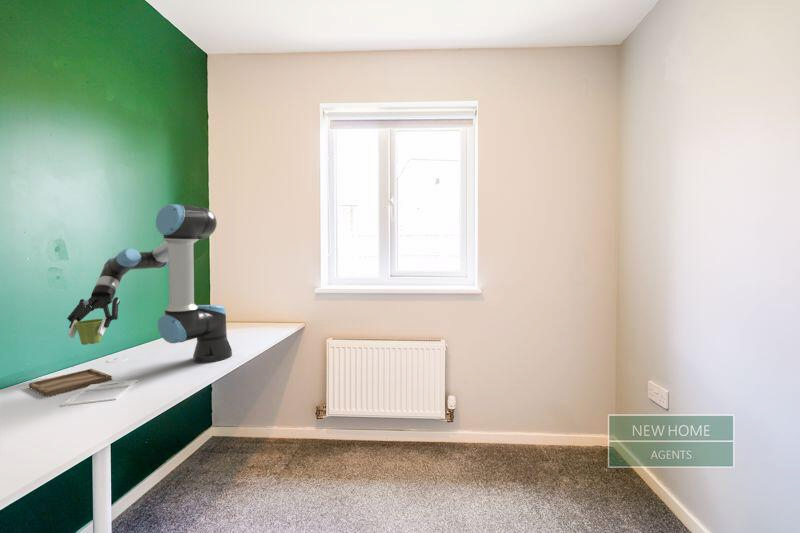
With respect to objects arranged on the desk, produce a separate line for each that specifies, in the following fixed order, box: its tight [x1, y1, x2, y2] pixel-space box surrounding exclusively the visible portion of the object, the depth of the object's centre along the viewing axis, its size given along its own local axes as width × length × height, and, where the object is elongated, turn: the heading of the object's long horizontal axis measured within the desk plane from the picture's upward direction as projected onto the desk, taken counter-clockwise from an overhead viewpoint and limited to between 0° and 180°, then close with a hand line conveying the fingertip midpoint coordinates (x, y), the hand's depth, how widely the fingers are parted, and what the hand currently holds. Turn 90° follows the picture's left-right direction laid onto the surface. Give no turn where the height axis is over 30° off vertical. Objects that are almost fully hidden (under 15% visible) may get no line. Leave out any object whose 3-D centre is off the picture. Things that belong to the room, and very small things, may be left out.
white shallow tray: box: [60, 379, 139, 407], centre depth 127 cm, size 15×1×18 cm
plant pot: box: [74, 318, 103, 346], centre depth 149 cm, size 9×9×9 cm
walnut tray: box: [28, 368, 113, 398], centre depth 136 cm, size 18×18×2 cm
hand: (85, 335), depth 146 cm, fingers closed on plant pot, 9 cm apart
